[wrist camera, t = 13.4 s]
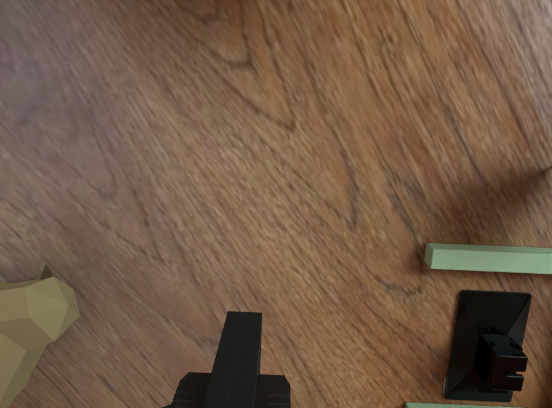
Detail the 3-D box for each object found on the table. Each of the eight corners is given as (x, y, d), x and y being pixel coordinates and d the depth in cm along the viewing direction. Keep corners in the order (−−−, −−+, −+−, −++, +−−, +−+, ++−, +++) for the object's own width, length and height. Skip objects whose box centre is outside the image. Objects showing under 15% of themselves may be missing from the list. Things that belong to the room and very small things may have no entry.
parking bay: (425, 242, 40) (434, 250, 38) (605, 250, 40) (625, 258, 38) (403, 417, 45) (410, 434, 42) (565, 425, 45) (581, 442, 42)
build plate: (508, 399, 44) (534, 432, 40) (440, 395, 44) (458, 428, 40) (530, 292, 41) (560, 315, 37) (457, 289, 41) (479, 311, 37)
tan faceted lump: (-13, 370, 44) (53, 432, 40) (-141, 388, 34) (-73, 473, 30) (50, 244, 46) (122, 290, 41) (-56, 226, 36) (23, 284, 31)
